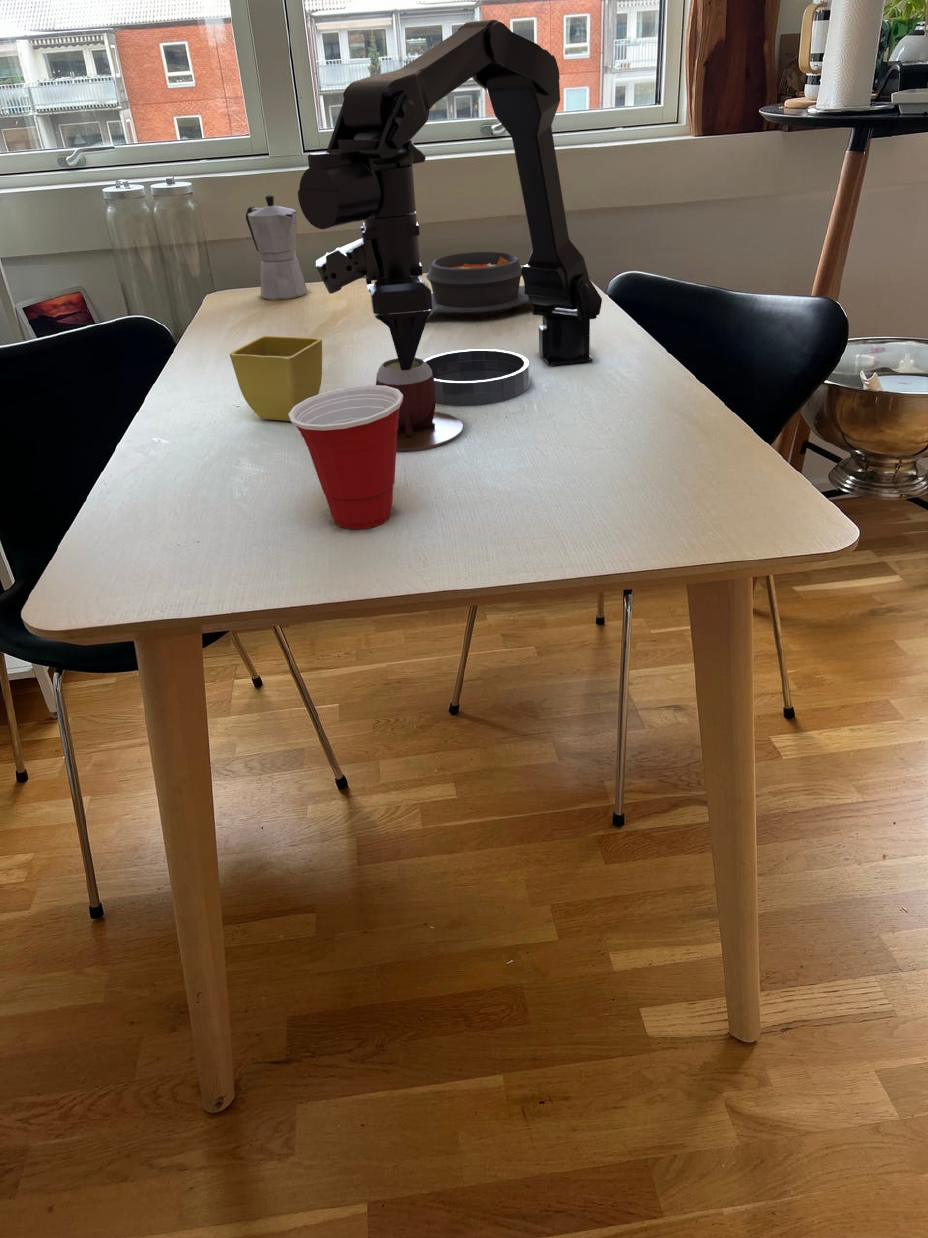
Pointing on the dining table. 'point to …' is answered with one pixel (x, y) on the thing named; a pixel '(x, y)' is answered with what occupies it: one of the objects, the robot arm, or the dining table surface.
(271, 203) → the coffeepot
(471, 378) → the pan
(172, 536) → the dining table surface
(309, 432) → the plastic cup
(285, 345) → the flower pot
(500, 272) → the casserole
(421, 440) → the disc
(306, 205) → the robot arm
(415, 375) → the mate gourd
